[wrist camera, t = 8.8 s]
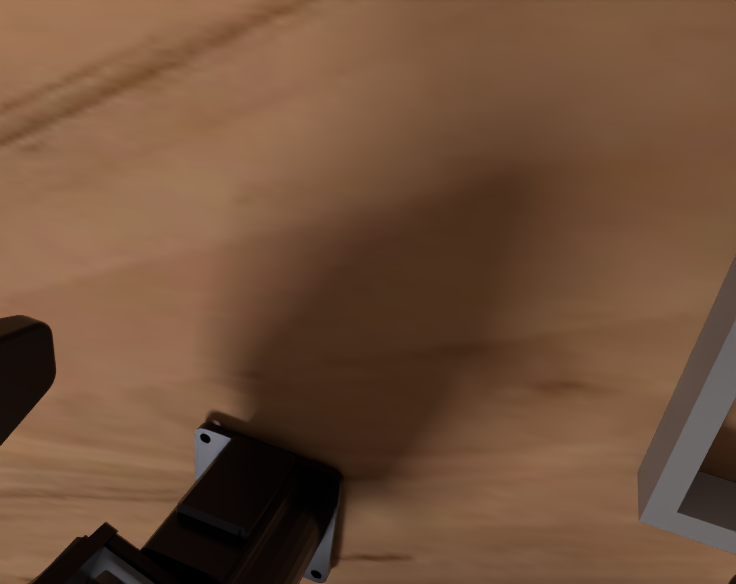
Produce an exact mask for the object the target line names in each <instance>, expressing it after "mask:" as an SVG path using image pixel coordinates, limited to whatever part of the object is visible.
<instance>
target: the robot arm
mask: <svg viewBox="0 0 736 584" xmlns="http://www.w3.org/2000/svg"><path fill="white" fill-rule="evenodd" d="M55 376H56V363H55V354H54V345H53V336H52V331H51V329H50V327H49V325H47V324H46V323H44V322H42V321H39V320H36V319H34V318H31V317H28V316H24V315H16V316H10V317H5V318H0V446H1V445H2V444H3V442H4V441H5V440H6V439H7V438H8V437H9V435H10V434H11V433H12V432H13V431H14V430H15V428H16V427H17V426H18V425H19V424H20V423H21V421H22V420H23V419H24V418H25V417H26V415H27V414H28V413H29V412H30V411H31V410H32V408H33V407H34V406H35V405H36V404H37V403H38V401H39V400H40V399H41V398H42V397H43V396H44V394H45V393H46V392H47V391H48V390H49V388H50V387H51V385H52V384H53V382H54V379H55ZM328 479H330V480H332V481H330V480H328ZM343 481H344V480H343V476H342V474H341V473H340V472H339V471H338V470H337V469H335V468H333V467H331V466H328V465H325V464H322V463H320V462H317V461H314V460H311V459H308V458H306V457H303V456H300V455H297V454H295V453H292V452H289V451H286V450H283V449H281V448H278V447H275V446H272V445H270V444H267V443H264V442H261V441H258V440H256V439H253V438H250V437H247V436H245V435H242V434H239V433H236V432H233V431H231V430H228V429H225V428H222V427H220V426H217V425H214V424H211V423H203V424H202V425H201V426H200V427H199V428H198V429H197V430H196V431H195V483H194V484H193V486H192V487H191V488H190V489H189V490H188V492H187V493H186V494H185V495H184V497H183V498H182V499H181V500H180V501H179V503H178V504H177V506H176V507H175V509H174V510H173V511H172V512H171V513H170V515H169V516H168V517H167V518H166V519H165V521H164V522H163V523H162V524H161V525H160V527H159V528H158V529H157V530H156V531H155V533H154V534H153V535H152V536H151V538H150V539H149V540H148V541H147V542H146V544H145V545H144V546H143V547H142V548H141V550H139V549H138V548H136V547H135V546H134V545H132V544H131V543H130V542H128V541H127V540H125V539H124V538H123V537H121V536H120V535H119V534H117V533H118V530H117V529H115V528H114V527H112V526H111V525H110V524H108V523H107V522H105V523H104V524H103V525H102V526H100V527H99V528H98V529H97V530H96V531H95V532H94V533H93V534H92V535H91V536H90V537H88V536H86V535H85V536H84V537H77V538H76V539H75V540H74V541H73V542H72V543H71V544H70V545H69V546H68V547H67V548H66V549H65V550H64V551H63V552H62V553H61V554H60V555H59V556H58V557H57V558H56V559H55V560H54V562H53V563H52V564H51V565H50V566H49V567H47V568H46V569H45V570H44V571H43V572H42V573H41V574H40V575H39V576H37V577H36V578H35V579H33V580H32V581H31V582H29V583H28V584H299V583H300V581H301V579H302V577H305V578H307V579H309V580H312V581H314V582H318V583H323V582H325V581H326V579H327V577H328V575H329V573H330V571H331V564H332V557H333V550H334V543H335V536H336V529H337V523H338V516H339V509H340V502H341V495H342V488H343ZM728 584H736V575H734V576H733V578H732V579H731V580H730V582H729V583H728Z"/></svg>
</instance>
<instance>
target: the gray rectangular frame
mask: <svg viewBox="0 0 736 584" xmlns="http://www.w3.org/2000/svg"><path fill="white" fill-rule="evenodd" d="M735 398H736V256H735V258H734V260H733V263H732V265H731V267H730V269H729V272H728V274H727V276H726V278H725V280H724V283H723V285H722V287H721V289H720V291H719V294H718V296H717V298H716V300H715V303H714V305H713V307H712V309H711V311H710V314H709V316H708V318H707V320H706V322H705V325H704V327H703V329H702V331H701V334H700V336H699V338H698V340H697V342H696V345H695V347H694V349H693V351H692V353H691V356H690V358H689V360H688V362H687V365H686V367H685V369H684V371H683V373H682V376H681V378H680V380H679V382H678V384H677V387H676V389H675V391H674V393H673V396H672V398H671V400H670V402H669V404H668V407H667V409H666V411H665V413H664V415H663V418H662V420H661V422H660V424H659V427H658V429H657V431H656V433H655V435H654V438H653V440H652V442H651V444H650V446H649V449H648V451H647V453H646V455H645V458H644V460H643V462H642V464H641V466H640V469H639V471H638V507H639V522H641V523H644V524H647V525H650V526H653V527H656V528H659V529H662V530H665V531H668V532H671V533H674V534H677V535H680V536H683V537H686V538H688V539H691V540H694V541H697V542H700V543H703V544H706V545H709V546H712V547H715V548H718V549H721V550H724V551H727V552H730V553H733V554H736V483H735V482H732V481H729V480H725V479H722V478H719V477H716V476H713V475H710V474H706V473H703V472H700V471H698V470H699V468H700V466H701V464H702V462H703V460H704V458H705V456H706V454H707V452H708V450H709V448H710V446H711V444H712V442H713V440H714V439H715V437H716V435H717V433H718V431H719V429H720V427H721V425H722V423H723V421H724V419H725V417H726V415H727V413H728V411H729V409H730V407H731V405H732V404H733V402H734V400H735Z"/></svg>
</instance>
